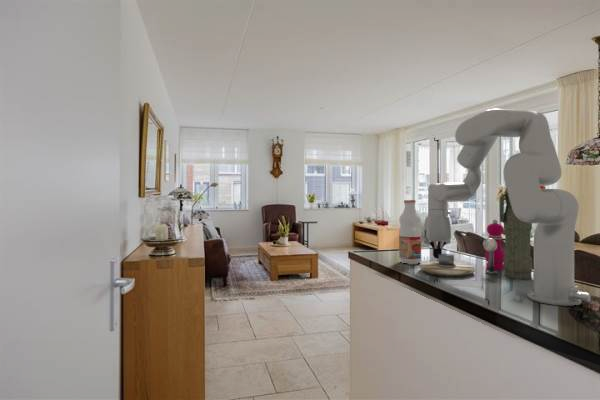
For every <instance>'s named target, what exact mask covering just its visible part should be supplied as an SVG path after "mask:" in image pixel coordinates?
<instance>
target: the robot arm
mask: <svg viewBox="0 0 600 400" xmlns="http://www.w3.org/2000/svg"><path fill="white" fill-rule="evenodd" d="M498 137H500V138H501V137H502V138H518V137H519V139H518V149H519V153H516V154H512V156H510V157H509V158H508V159H507V160H506V162H505V163H504V167H503V179H504V185H505V189H506V188H507V191H508V195H509V199H510V203H511V206H512V209H513V212H514V214H515V216H516V217H517V218H518V219H519V220H521V221H522V222H525V223H533V224H537V225H536V228H535V230H534V235H533V290H529V291H528V292H527V297H528V299H530V300H532V301H534V302H537V303H542V304H547V305H554V306H559V307H562V306H563V307H573V306H574V305H576V306H580V305H581V304H582V301H583V302H586V303H590V302H591V300H592V296H591V294H590V293H588V292H583V291H580V290H579V287H580V286H579V285H575V234H576V233H575V232H576V224H577V220H578V215H579V210H580V209H579V208H580V207H579V203H578V199H577V197H576V196H575V195H574V194H572V193H571V192H569V191H567V190H564V189H562V188H561V189H560V188H541V187H545V186H551V185H554V184H556V183H558V182H559V180H560V179H561V177H562V167H561V163H560V159H559V157H558V154H557V150H556V147H555V144H554V141H553V138H552V134H551V129H550V126H549V121H548V119H547V117H546V116H545V115H544V114H543V113H542V112H540V111H537V110H522V109H505V108H491V109H487V110H485V111H484V110H483V112H480V113H478V114H476V115H474V116H471V117H469V118H467V119H465V120H464V121H462V122H461V123H460V124H459V125H458V126H457V128H456V130H455V135H454V138H455V141H456V143H457V144H458V145H460V146H462V148H461V149H460V151H459V153H458V155H457V158H456V160H457V163H458V164H459V165H460V166H461V167H463V168H464V169H466V170H467V174H466V175H465V178H464V179H463V181H462V182H441V183H431V184H428V187H427V191H428V192H427V195H428V196H427V199H428V200H427V208H428V209H427V216H425V219H424V220H425V221H424V224H423V225H424V226H423V240H424V244H426V245H429V246H431V248H432V256H433V258H434V259H437V260H438V254H443V252H442V250H443V249H444V247H445V246H446V245H449V244H451V243H452V242H451V239H452V228H451V226H452V225H451V220H450V217H449V216H448V215H450V214H451V210H449V209H448V208H449V207H448V203H453V202H455V203H457V202H460V203H462V202H467V201H470V199H472V198H473V196H475V194H476V192H477V190H478V189H479V187H480V185H481V182H482V171H481V166H482V164H483V162H484V161H485V159H486V157H487V156H488V154H489V153H490V151H491V149H492V148H493V146H494V144H495V143H496V141H497V139H498Z"/></svg>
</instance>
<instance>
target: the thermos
mask: <svg viewBox="0 0 600 400" xmlns="http://www.w3.org/2000/svg"><path fill="white" fill-rule="evenodd" d="M505 204H506V206H505ZM499 222H500V223H502V224H503V229H504V235H505V239H504V245H505V246H504V247H505V248H504V249H505V252H504V254H505V256H504V262H503V264H504V269H503V270H504V271H503V272H504V274H503V276H504V278H507V279H509V280H510V279H511V280H518V281H528V280H529V281H530V280H532V278H533V277H532V273H533V259H532V256H531V232H532V230H533V224H534V223H525V222H522V221H521V220H519V219H518V218H517V217H516V216H515V214H514V212H513V209H512V206H511V203H510V199H509V195H508V191H507V188H506V187H505V193H502V194H501V195H500V196H499Z"/></svg>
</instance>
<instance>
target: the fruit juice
mask: <svg viewBox="0 0 600 400" xmlns="http://www.w3.org/2000/svg"><path fill="white" fill-rule="evenodd" d="M416 203H417V202H416V200H415V199H404V200H403V205H404V209H403V212H402V213H401V215H400V216H399V220H398V222H399V225H400V226H399V231H398V240H399V241H398V260H399V263H400V262H402V263H401V264H403V263H409V264H408V265H419V264H418V263H420V264H421V263H422V230H421V226H420V225H421V222H422V219H421V216H420V214H419V213H418V212H417V210H416Z"/></svg>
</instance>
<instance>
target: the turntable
mask: <svg viewBox="0 0 600 400" xmlns="http://www.w3.org/2000/svg"><path fill="white" fill-rule="evenodd" d="M437 263H439V261H426V262H421V263H420V264H418V266H419V267H418V268H419V270H421V271H423V272H425V271H426V272H430V273H436V274H446V275H465V274H469V275H471V274H473V273H476V272H475V271H476V268H475V266H473V265H470V264H468V263H467V264H466V263H462V262H455V261H454V264H455V265H456V267H455V268H442V267H438V266H437ZM426 272H425V273H426Z"/></svg>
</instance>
